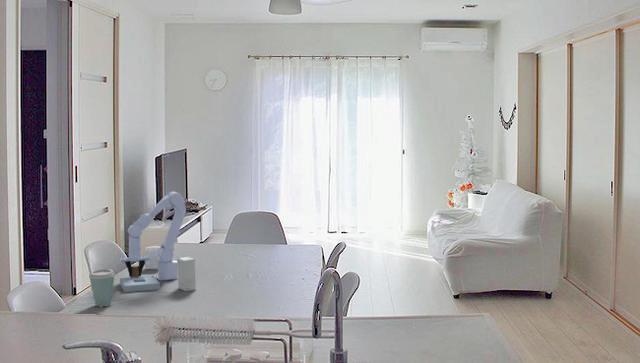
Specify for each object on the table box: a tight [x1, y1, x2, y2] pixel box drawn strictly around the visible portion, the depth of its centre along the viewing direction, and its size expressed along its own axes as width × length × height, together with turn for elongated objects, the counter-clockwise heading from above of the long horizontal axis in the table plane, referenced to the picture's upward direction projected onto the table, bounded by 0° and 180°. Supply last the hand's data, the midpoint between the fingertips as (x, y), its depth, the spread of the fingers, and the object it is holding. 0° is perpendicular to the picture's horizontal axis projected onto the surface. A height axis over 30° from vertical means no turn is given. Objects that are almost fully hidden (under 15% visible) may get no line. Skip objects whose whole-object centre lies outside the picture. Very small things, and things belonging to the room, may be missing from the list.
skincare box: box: [176, 256, 197, 292], centre depth 321 cm, size 8×6×15 cm
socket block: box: [119, 275, 160, 293], centre depth 325 cm, size 16×16×3 cm
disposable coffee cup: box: [89, 268, 115, 308], centre depth 291 cm, size 11×11×15 cm
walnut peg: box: [130, 265, 140, 278], centre depth 336 cm, size 4×4×7 cm
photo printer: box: [144, 245, 161, 270], centre depth 363 cm, size 10×4×12 cm, turn 98°
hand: (135, 276), depth 336 cm, fingers closed on walnut peg, 4 cm apart
